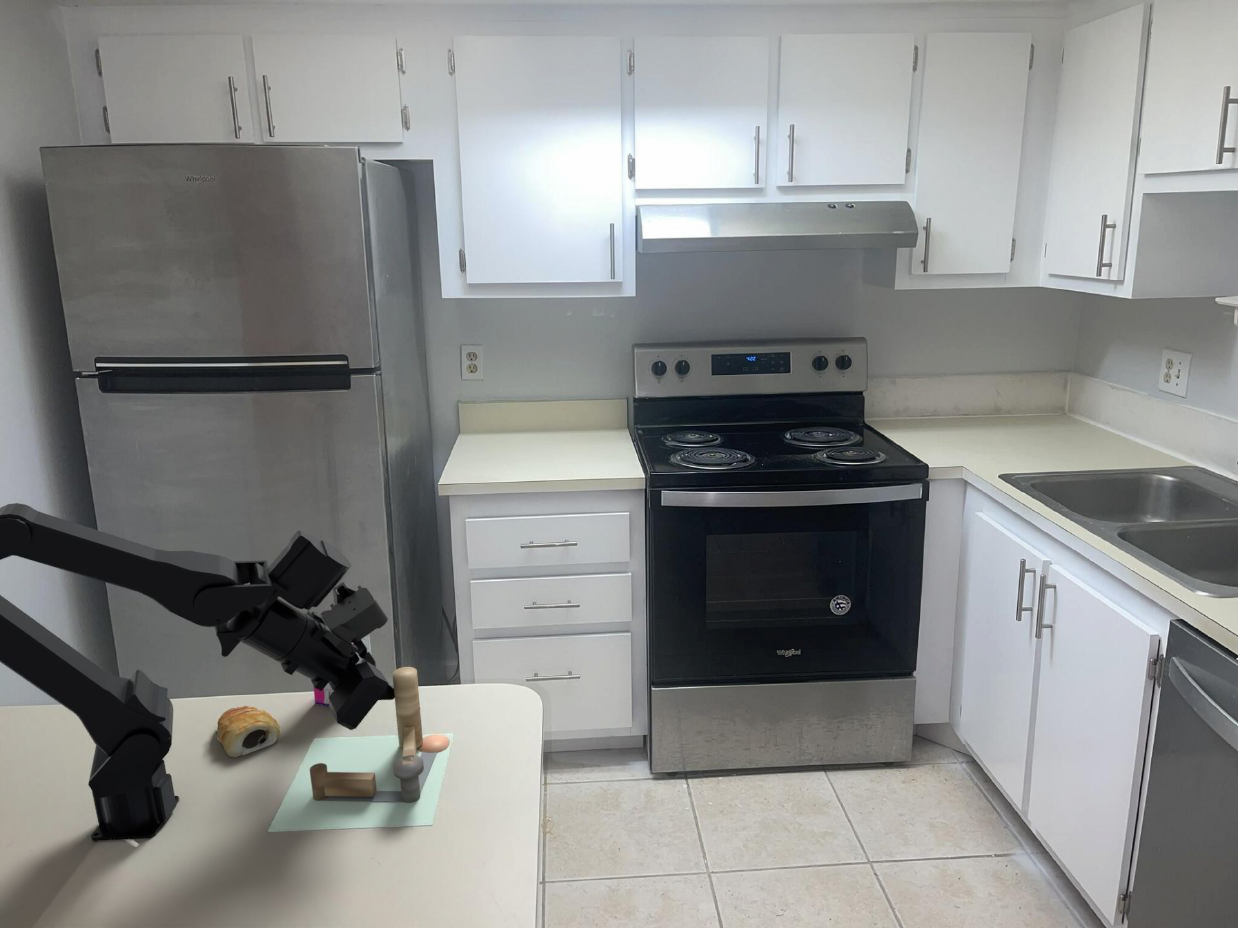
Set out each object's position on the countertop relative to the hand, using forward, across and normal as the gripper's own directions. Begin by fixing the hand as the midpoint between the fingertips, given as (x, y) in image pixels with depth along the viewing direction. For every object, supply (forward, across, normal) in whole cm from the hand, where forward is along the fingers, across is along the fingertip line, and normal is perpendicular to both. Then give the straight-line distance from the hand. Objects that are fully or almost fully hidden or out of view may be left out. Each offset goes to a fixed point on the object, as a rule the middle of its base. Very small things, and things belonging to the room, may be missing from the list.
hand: (395, 695), depth 106 cm
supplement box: (+3, +14, +7) cm, 16 cm away
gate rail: (+4, -6, +5) cm, 9 cm away
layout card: (+1, -5, +8) cm, 10 cm away
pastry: (-6, +11, +16) cm, 21 cm away
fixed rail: (0, -8, +9) cm, 12 cm away
